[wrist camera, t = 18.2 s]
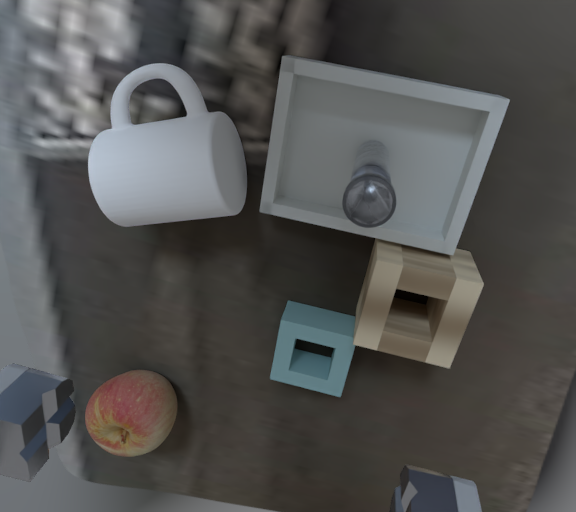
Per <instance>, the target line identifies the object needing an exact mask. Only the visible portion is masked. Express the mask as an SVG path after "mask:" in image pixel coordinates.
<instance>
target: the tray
mask: <svg viewBox="0 0 576 512" xmlns="http://www.w3.org/2000/svg"><path fill="white" fill-rule="evenodd" d="M509 102H510V99H507V98H505V97H503V96H500V95H496V94H491V93H485V92H480V91H475V90H470V89H464V88H459V87H454V86H449V85H444V84H438V83H433V82H428V81H423V80H417V79H412V78H407V77H402V76H397V75H391V74H386V73H381V72H376V71H370V70H365V69H360V68H355V67H349V66H344V65H339V64H334V63H329V62H323V61H318V60H313V59H308V58H302V57H297V56H292V55H286V56H282V61H281V67H280V74H279V81H278V88H277V95H276V101H275V108H274V115H273V122H272V129H271V135H270V142H269V149H268V156H267V163H266V169H265V176H264V183H263V190H262V197H261V204H260V210H259V212H262V213H266V214H271V215H275V216H280V217H284V218H289V219H293V220H297V221H302V222H306V223H311V224H315V225H320V226H324V227H329V228H333V229H337V230H342V231H346V232H351V233H355V234H360V235H364V236H369V237H373V238H377V239H382V240H386V241H391V242H395V243H400V244H404V245H409V246H413V247H417V248H422V249H426V250H431V251H435V252H440V253H444V254H449V255H454V252H455V250H456V247H457V244H458V241H459V239H460V236H461V233H462V230H463V228H464V225H465V222H466V219H467V217H468V214H469V211H470V208H471V206H472V203H473V200H474V198H475V195H476V192H477V189H478V187H479V184H480V181H481V178H482V176H483V173H484V170H485V167H486V165H487V162H488V159H489V156H490V154H491V151H492V148H493V145H494V143H495V140H496V137H497V134H498V132H499V129H500V126H501V123H502V121H503V118H504V115H505V112H506V110H507V107H508V104H509ZM369 140H377V141H380V142H382V143H383V144H384V145H385V146H386V147H387V149H388V152H389V161H390V174H391V184H392V186H393V187H394V190H395V194H396V208H395V211H394V213H393V215H392V216H391V218H390V219H389V220H388V221H387V222H385V223H384V224H382V225H380V226H377V227H373V228H365V227H361V226H358V225H356V224H354V223H353V222H351V221H350V220H349V219H348V218H347V216H346V214H345V213H344V210H343V205H342V200H343V195H344V191H345V189H346V187H347V185H348V184H349V182H350V180H351V175H352V171H353V166H354V162H355V157H356V153H357V150H358V148H359V147H360V146H361V145H362V144H363V143H364V142H366V141H369Z"/></svg>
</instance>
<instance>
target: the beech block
mask: <svg viewBox="0 0 576 512" xmlns="http://www.w3.org/2000/svg"><path fill="white" fill-rule="evenodd" d="M483 286H484V283H483V281H482V279H481V276H480V274H479V271H478V269H477V267H476V264H475V262H474V260H473V257H472V255H471V253H470V251H465V250H461V249H456V250H455V252H454V255H449V254H444V253H440V252H435V251H431V250H426V249H422V248H417V247H413V246H409V245H404V244H400V243H395V242H391V241H386V240H382V239H377V238H375V242H374V245H373V249H372V253H371V256H370V260H369V264H368V267H367V271H366V274H365V278H364V282H363V285H362V289H361V293H360V296H359V300H358V304H357V307H356V317H355V328H354V338H353V345H357V346H361V347H365V348H369V349H373V350H377V351H381V352H385V353H389V354H393V355H397V356H401V357H405V358H409V359H413V360H417V361H421V362H425V363H429V364H433V365H437V366H441V367H446V368H450V366H451V364H452V361H453V359H454V356H455V354H456V351H457V349H458V347H459V344H460V342H461V339H462V337H463V334H464V332H465V330H466V327H467V325H468V322H469V320H470V317H471V315H472V313H473V310H474V308H475V305H476V303H477V300H478V298H479V295H480V293H481V291H482V288H483ZM396 289H400V290H404V291H408V292H413V293H417V294H421V295H425V296H429V297H428V300H427V303H426V305H425V304H420V303H416V302H412V301H408V300H404V299H399V298H395V297H394V294H395V291H396Z"/></svg>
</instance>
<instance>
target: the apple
mask: <svg viewBox="0 0 576 512" xmlns="http://www.w3.org/2000/svg"><path fill="white" fill-rule="evenodd" d="M176 415H177V397H176V394H175V391H174V389H173V387H172V385H171V383H170V382H169V381H168V380H167V379H166V378H165V377H164V376H162V375H160V374H158V373H156V372H153V371H149V370H133V371H129V372H126V373H123V374H121V375H118V376H116V377H113V378H112V379H110V380H108V381H107V382H105V383H104V384H102V385H101V386H100V387H99V388H98V389H97V390H96V391H95V392H94V393H93V395H92V396H91V398H90V400H89V402H88V404H87V408H86V413H85V422H86V427H87V430H88V432H89V434H90V435H91V437H92V438H93V440H94V441H95V442H96V443H97V444H98V445H99V446H100V447H101V448H103V449H104V450H105V451H107V452H109V453H111V454H114V455H119V456H127V457H131V456H137V455H142V454H145V453H148V452H151V451H152V450H154V449H156V448H157V447H158V446H159V445H160V444H161V443H162V442H163V441H164V440H165V439H166V438H167V436H168V435H169V433H170V431H171V429H172V427H173V425H174V422H175V419H176Z"/></svg>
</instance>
